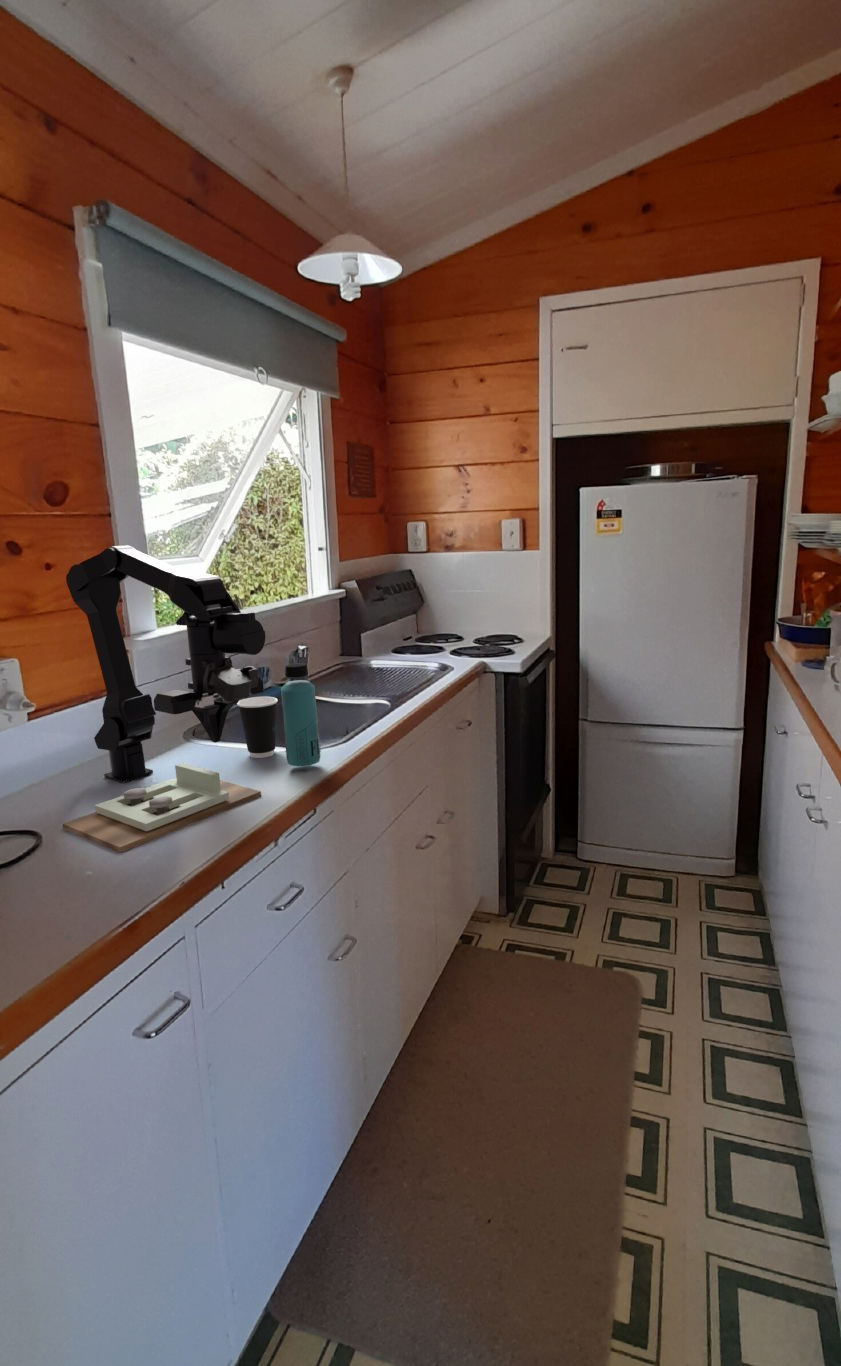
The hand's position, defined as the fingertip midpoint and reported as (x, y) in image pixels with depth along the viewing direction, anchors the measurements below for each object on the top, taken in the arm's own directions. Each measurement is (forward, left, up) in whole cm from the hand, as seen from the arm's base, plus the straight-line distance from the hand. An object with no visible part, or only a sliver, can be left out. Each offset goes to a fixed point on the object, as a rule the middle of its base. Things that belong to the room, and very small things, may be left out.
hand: (216, 741), depth 126 cm
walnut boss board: (0, -11, -9) cm, 14 cm away
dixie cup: (-10, +18, -9) cm, 22 cm away
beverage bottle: (+4, +16, -9) cm, 19 cm away
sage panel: (0, -11, -8) cm, 14 cm away
